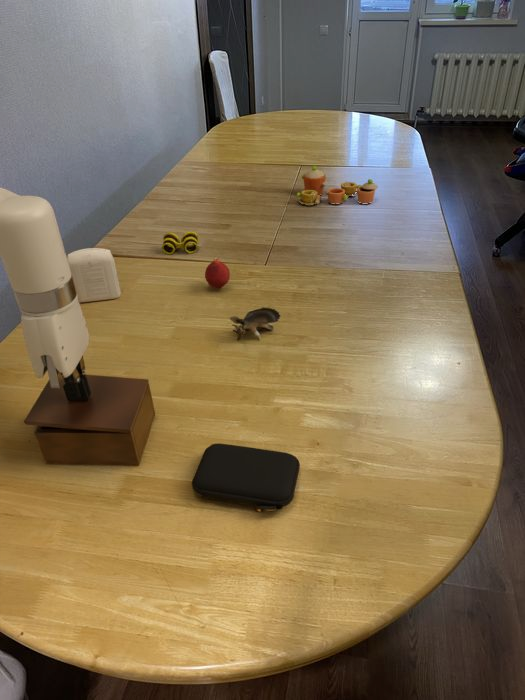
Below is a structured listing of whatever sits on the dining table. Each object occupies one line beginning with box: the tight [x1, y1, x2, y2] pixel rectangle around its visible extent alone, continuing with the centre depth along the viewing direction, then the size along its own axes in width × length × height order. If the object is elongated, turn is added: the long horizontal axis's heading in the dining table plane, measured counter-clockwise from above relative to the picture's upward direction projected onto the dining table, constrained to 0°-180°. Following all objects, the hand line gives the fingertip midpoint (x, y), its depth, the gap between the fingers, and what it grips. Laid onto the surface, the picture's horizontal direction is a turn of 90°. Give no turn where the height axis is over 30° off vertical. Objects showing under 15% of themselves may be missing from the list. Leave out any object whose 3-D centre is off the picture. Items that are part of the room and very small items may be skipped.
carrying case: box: [191, 442, 301, 513], centre depth 75 cm, size 11×3×15 cm
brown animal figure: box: [229, 307, 282, 341], centre depth 106 cm, size 8×7×9 cm
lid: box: [23, 374, 150, 433], centre depth 80 cm, size 16×12×1 cm
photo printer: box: [66, 247, 122, 303], centre depth 119 cm, size 10×4×12 cm, turn 102°
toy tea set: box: [295, 165, 379, 206], centre depth 169 cm, size 26×16×10 cm, turn 85°
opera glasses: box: [161, 231, 199, 255], centre depth 141 cm, size 10×5×5 cm, turn 92°
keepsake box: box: [33, 383, 156, 467], centre depth 82 cm, size 15×12×7 cm
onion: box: [204, 257, 231, 290], centre depth 122 cm, size 6×6×8 cm
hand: (79, 397), depth 79 cm, fingers closed
